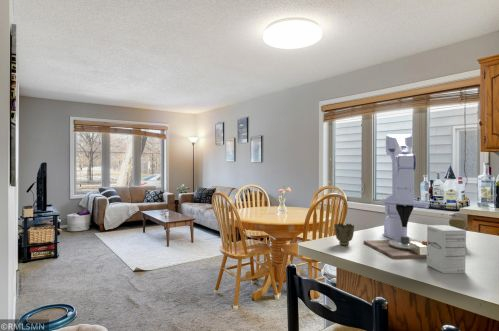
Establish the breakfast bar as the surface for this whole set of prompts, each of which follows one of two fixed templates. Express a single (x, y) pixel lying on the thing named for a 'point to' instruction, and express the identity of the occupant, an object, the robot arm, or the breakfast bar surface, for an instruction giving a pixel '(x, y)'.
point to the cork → (457, 223)
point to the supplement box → (446, 248)
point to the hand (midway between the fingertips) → (404, 226)
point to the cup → (344, 233)
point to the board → (395, 252)
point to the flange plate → (409, 246)
